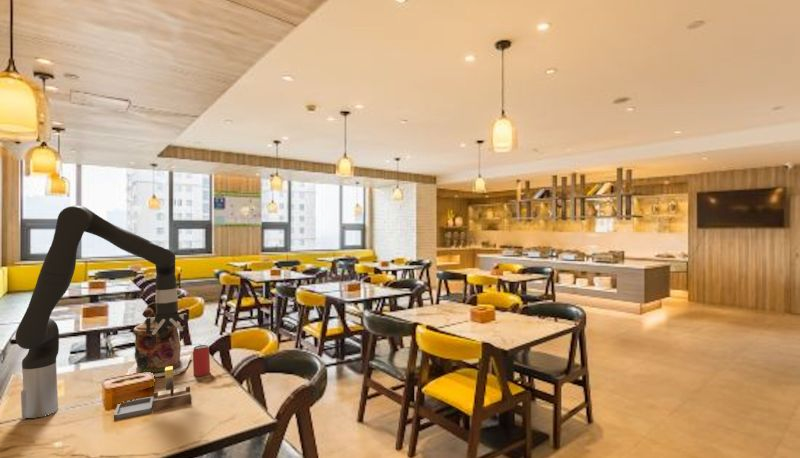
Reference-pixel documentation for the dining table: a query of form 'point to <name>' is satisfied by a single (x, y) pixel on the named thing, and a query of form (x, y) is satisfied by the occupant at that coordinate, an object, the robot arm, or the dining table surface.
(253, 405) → the dining table surface
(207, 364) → the beer can
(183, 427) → the dining table surface
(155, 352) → the cookie jar
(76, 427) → the dining table surface
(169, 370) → the scraper
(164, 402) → the slot block
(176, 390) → the chip
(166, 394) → the chip
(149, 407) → the tray
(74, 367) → the dining table surface
